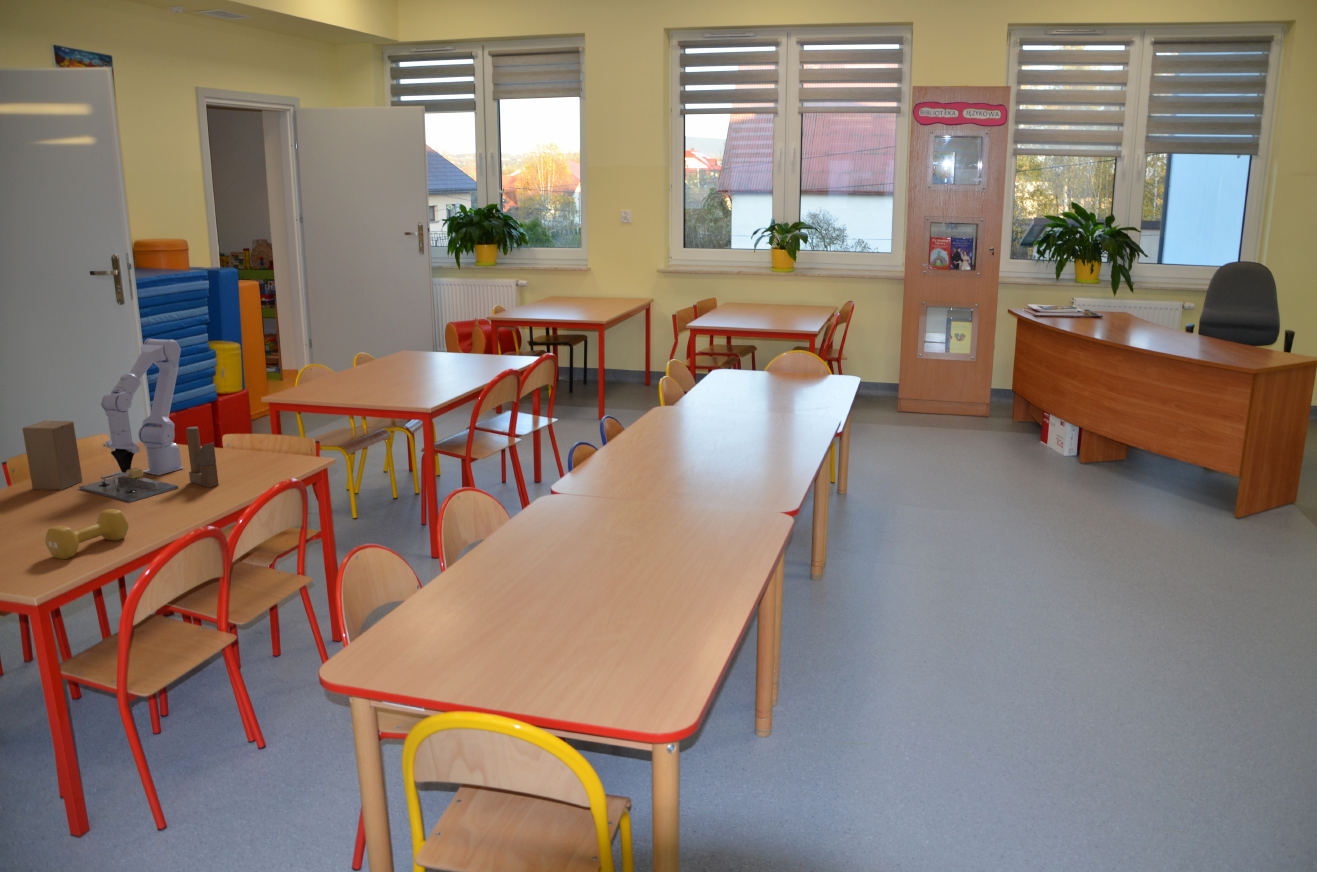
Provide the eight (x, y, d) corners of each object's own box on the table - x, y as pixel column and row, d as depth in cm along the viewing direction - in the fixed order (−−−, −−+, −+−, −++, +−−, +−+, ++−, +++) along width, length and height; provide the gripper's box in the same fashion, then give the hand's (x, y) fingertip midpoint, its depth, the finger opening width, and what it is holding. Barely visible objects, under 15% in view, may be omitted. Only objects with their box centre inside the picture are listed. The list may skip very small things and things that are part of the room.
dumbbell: (111, 534, 264) (107, 505, 262) (134, 538, 260) (130, 510, 258) (43, 557, 247) (38, 527, 245) (67, 562, 244) (62, 532, 241)
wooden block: (83, 481, 311) (74, 420, 306) (61, 490, 301) (51, 428, 296) (54, 480, 312) (44, 420, 307) (31, 489, 302) (21, 427, 297)
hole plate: (128, 476, 316) (126, 466, 315) (178, 488, 304) (177, 477, 303) (79, 489, 303) (77, 478, 302) (129, 502, 290) (128, 490, 289)
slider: (137, 479, 308) (135, 467, 307) (143, 481, 306) (141, 469, 305) (112, 486, 301) (111, 474, 300) (118, 487, 300) (116, 475, 299)
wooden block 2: (208, 488, 304) (201, 432, 299) (189, 482, 310) (182, 428, 305) (219, 485, 307) (212, 430, 302) (200, 479, 312) (194, 425, 308)
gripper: (94, 430, 304) (100, 471, 307) (121, 435, 297) (127, 478, 300) (115, 425, 310) (121, 466, 313) (143, 430, 303) (149, 472, 306)
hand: (126, 471), depth 307 cm, fingers closed
